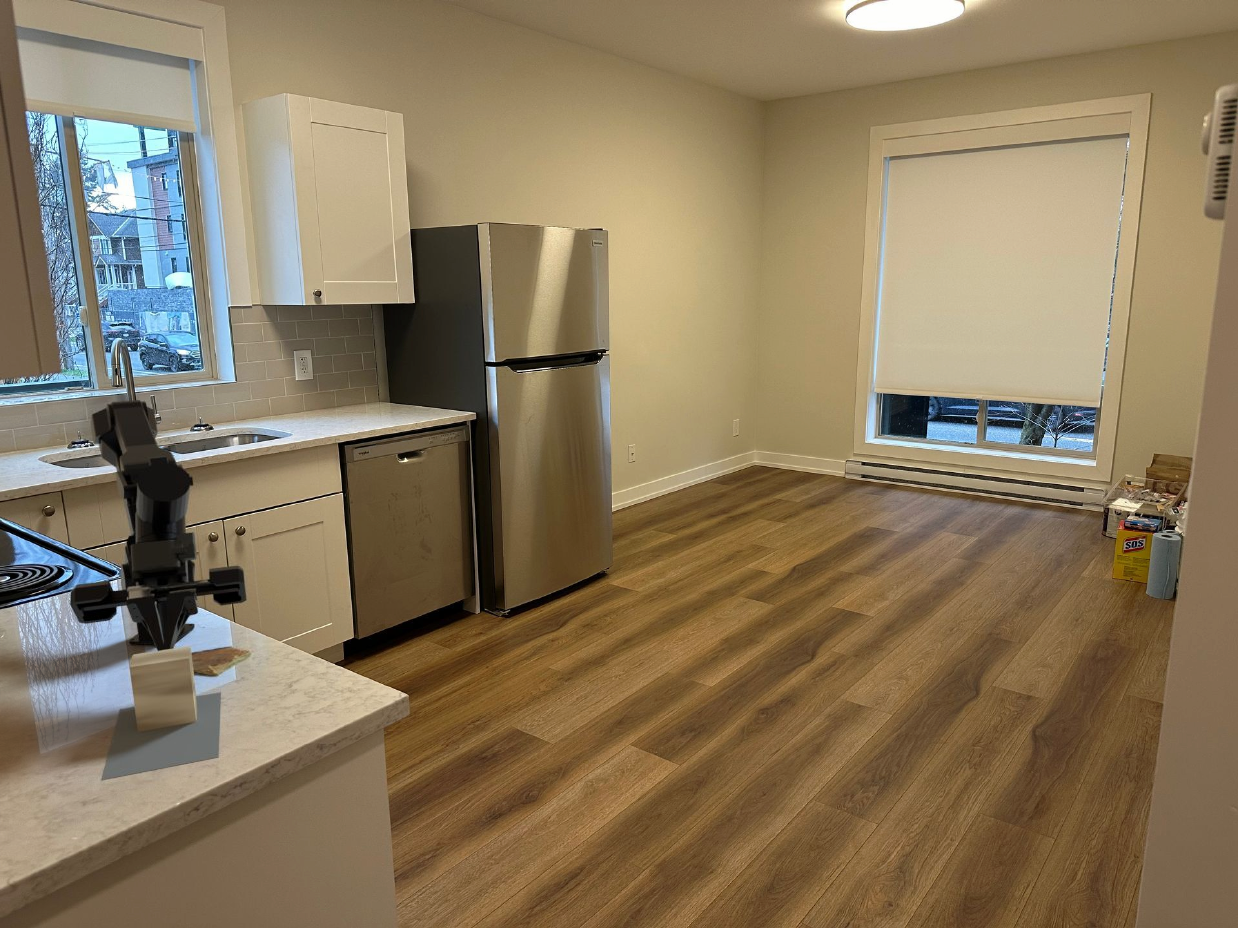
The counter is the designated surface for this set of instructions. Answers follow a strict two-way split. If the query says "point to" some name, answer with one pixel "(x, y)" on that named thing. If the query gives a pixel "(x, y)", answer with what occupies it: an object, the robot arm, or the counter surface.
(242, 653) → the shard
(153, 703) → the beige block
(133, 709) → the rubber mat
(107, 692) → the counter surface
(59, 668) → the counter surface
